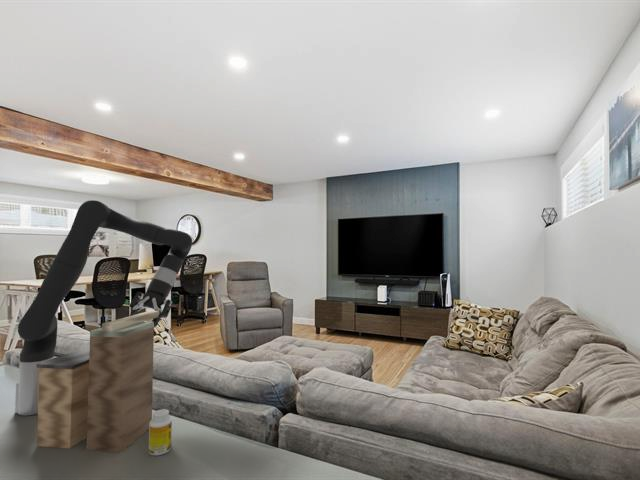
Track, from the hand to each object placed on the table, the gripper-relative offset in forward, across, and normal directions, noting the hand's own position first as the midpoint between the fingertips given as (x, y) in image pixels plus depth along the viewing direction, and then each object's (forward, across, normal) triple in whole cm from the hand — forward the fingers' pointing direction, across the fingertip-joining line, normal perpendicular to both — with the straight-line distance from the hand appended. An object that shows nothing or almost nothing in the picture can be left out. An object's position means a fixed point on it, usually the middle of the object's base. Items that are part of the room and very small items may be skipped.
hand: (141, 324), depth 122 cm
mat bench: (+34, 0, -4) cm, 35 cm away
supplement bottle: (+31, +29, -10) cm, 44 cm away
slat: (+2, +8, -15) cm, 17 cm away
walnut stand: (+32, +14, -5) cm, 35 cm away
